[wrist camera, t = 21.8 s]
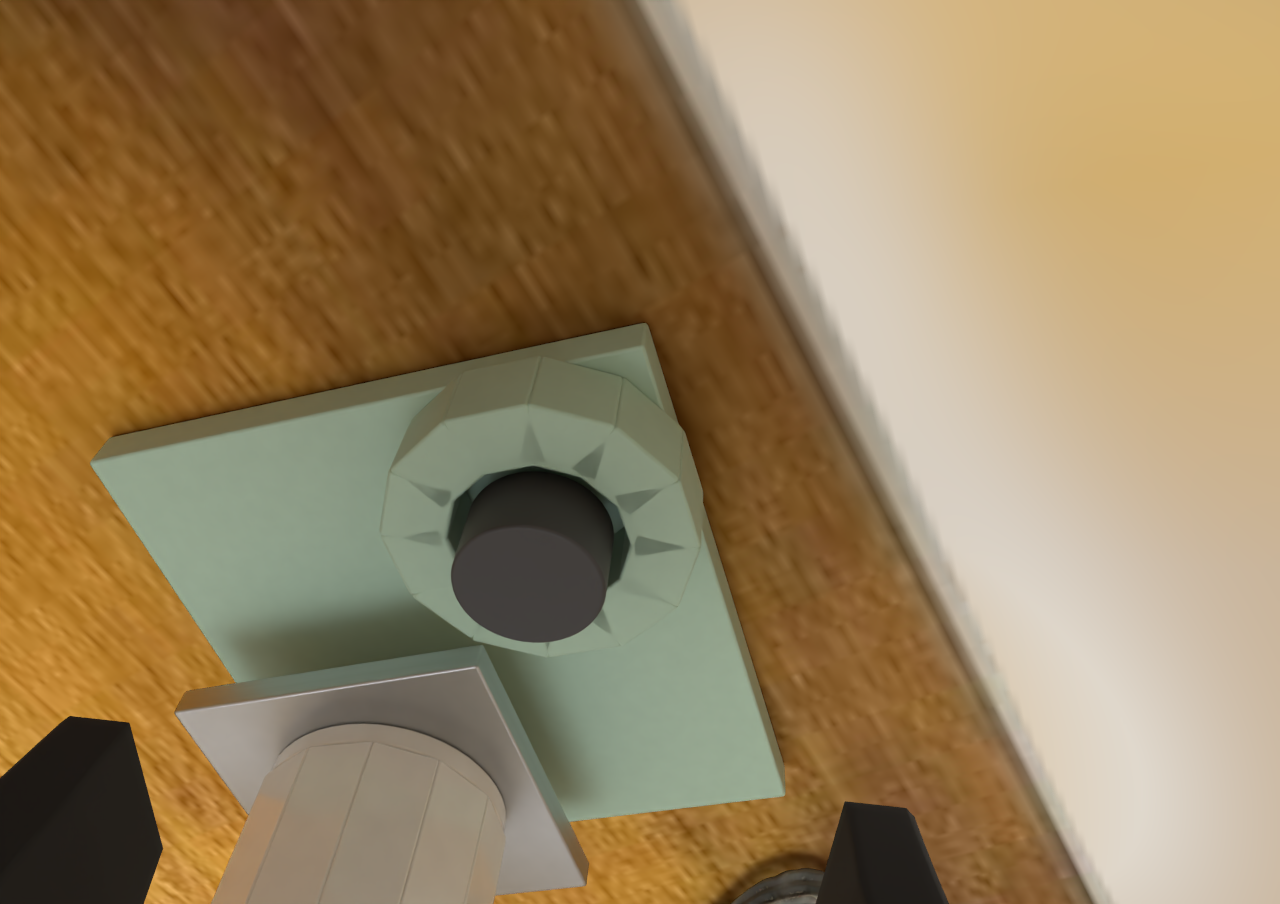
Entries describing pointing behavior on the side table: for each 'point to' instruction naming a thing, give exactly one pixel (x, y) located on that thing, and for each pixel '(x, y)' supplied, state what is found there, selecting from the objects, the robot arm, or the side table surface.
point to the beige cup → (369, 824)
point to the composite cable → (785, 888)
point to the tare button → (534, 557)
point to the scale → (428, 540)
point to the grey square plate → (411, 699)
